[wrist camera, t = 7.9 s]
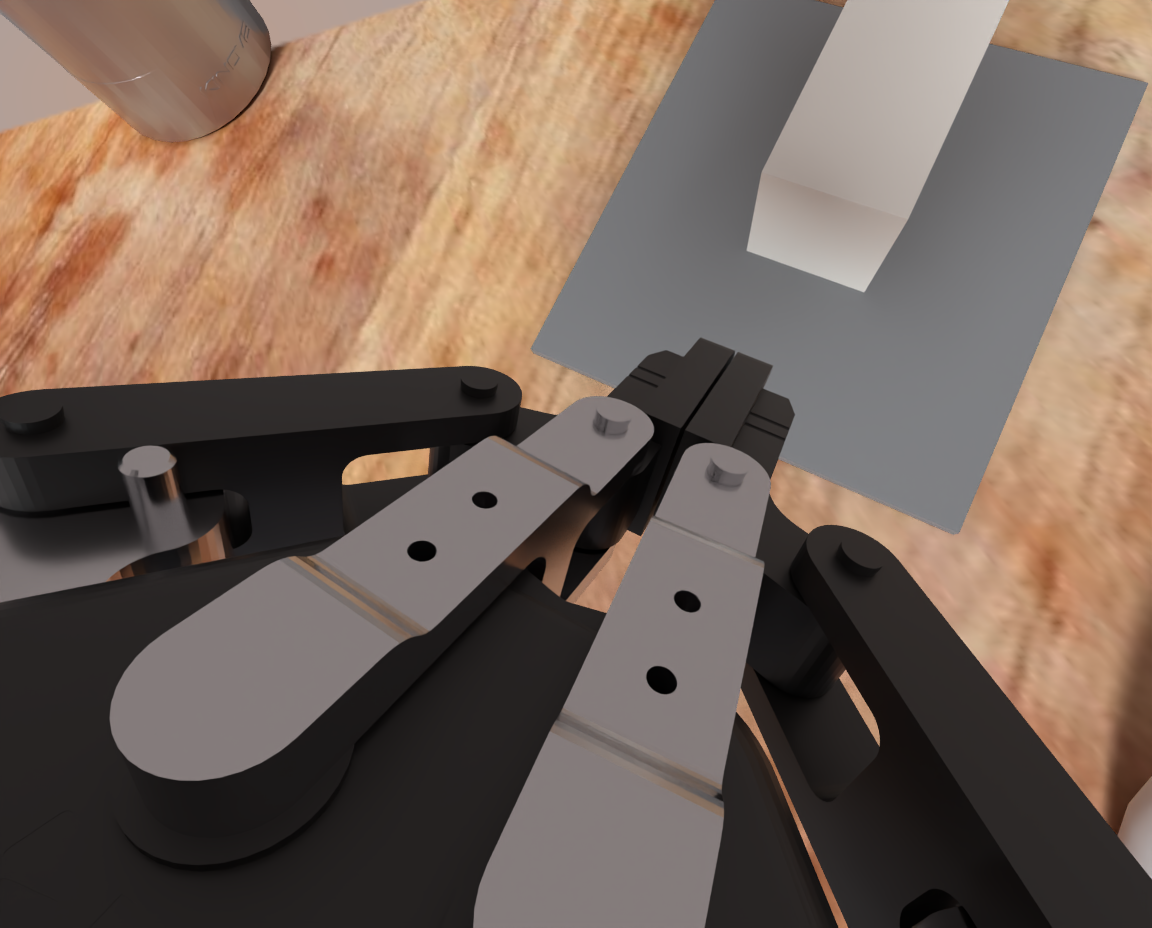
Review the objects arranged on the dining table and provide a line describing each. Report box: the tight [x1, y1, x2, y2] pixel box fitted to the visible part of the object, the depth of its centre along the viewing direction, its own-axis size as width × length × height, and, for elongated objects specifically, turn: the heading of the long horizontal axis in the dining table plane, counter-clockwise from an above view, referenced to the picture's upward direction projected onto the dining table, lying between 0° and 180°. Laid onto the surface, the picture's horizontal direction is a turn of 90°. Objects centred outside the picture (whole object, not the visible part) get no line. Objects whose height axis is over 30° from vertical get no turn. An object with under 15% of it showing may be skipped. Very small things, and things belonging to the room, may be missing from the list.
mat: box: [531, 0, 1148, 534], centre depth 26 cm, size 18×20×1 cm
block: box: [747, 0, 1009, 292], centre depth 24 cm, size 5×5×12 cm
